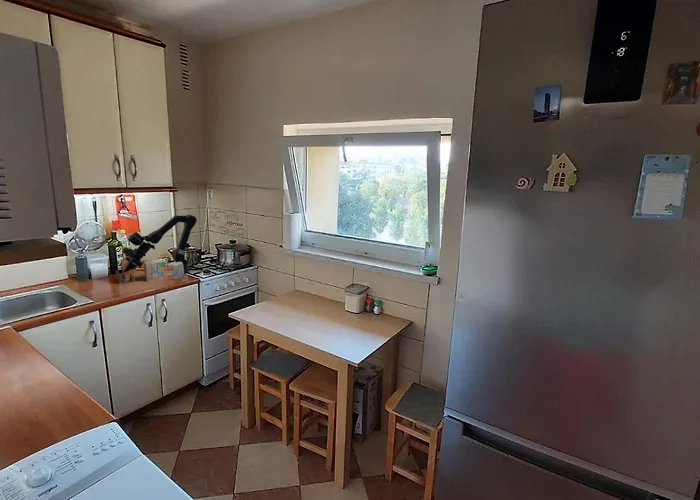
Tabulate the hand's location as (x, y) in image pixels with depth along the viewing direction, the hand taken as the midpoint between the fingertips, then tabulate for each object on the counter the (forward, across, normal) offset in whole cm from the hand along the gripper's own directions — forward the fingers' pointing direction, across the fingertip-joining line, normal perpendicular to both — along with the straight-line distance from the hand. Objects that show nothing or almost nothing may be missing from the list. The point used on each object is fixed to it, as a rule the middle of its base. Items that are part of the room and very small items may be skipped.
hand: (123, 270), depth 224 cm
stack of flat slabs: (+4, 0, +6) cm, 7 cm away
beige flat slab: (+3, 0, +5) cm, 6 cm away
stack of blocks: (-10, +7, +20) cm, 24 cm away
